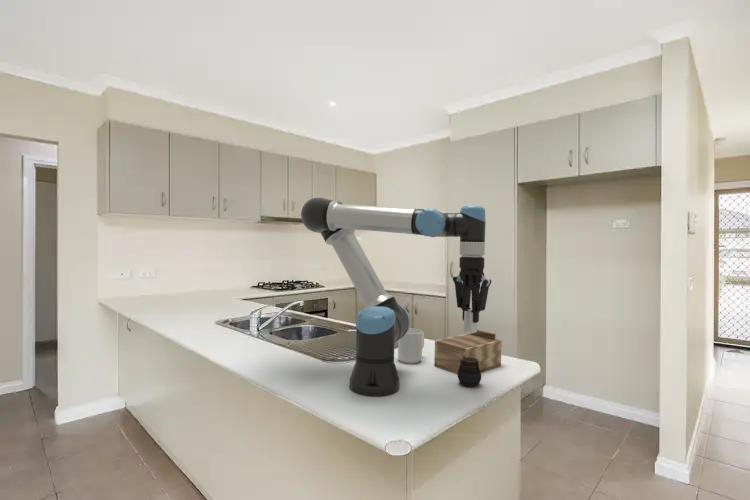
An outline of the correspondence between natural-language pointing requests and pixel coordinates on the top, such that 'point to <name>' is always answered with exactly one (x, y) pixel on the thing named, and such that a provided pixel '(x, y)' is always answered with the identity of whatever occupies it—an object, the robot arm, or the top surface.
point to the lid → (468, 340)
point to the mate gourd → (469, 371)
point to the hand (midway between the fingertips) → (470, 331)
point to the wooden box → (484, 353)
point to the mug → (411, 346)
